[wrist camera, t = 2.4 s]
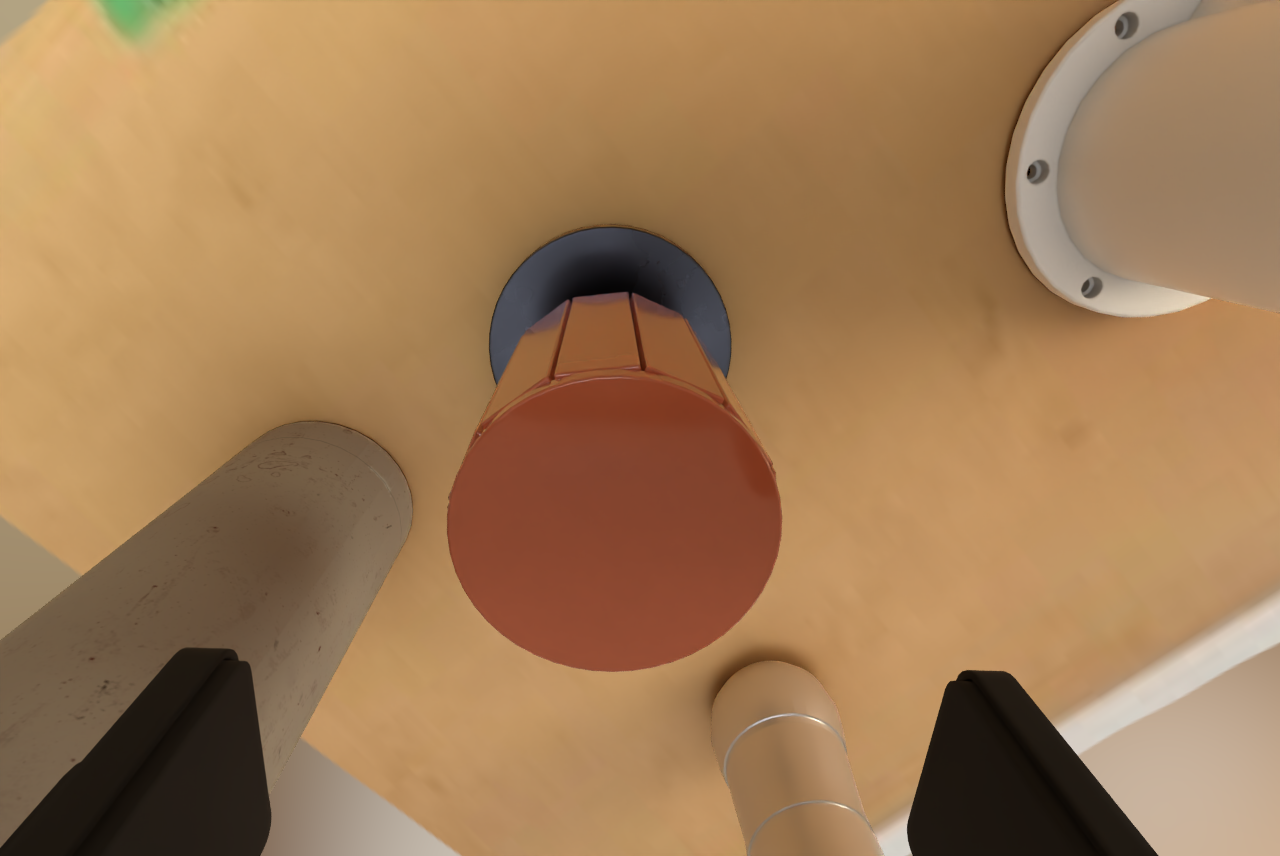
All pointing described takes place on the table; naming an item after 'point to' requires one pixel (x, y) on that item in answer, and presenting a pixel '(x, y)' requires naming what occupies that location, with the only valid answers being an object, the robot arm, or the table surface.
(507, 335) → the bowl
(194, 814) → the robot arm
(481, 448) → the cup
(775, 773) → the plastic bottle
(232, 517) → the thermos bottle
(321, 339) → the table surface
